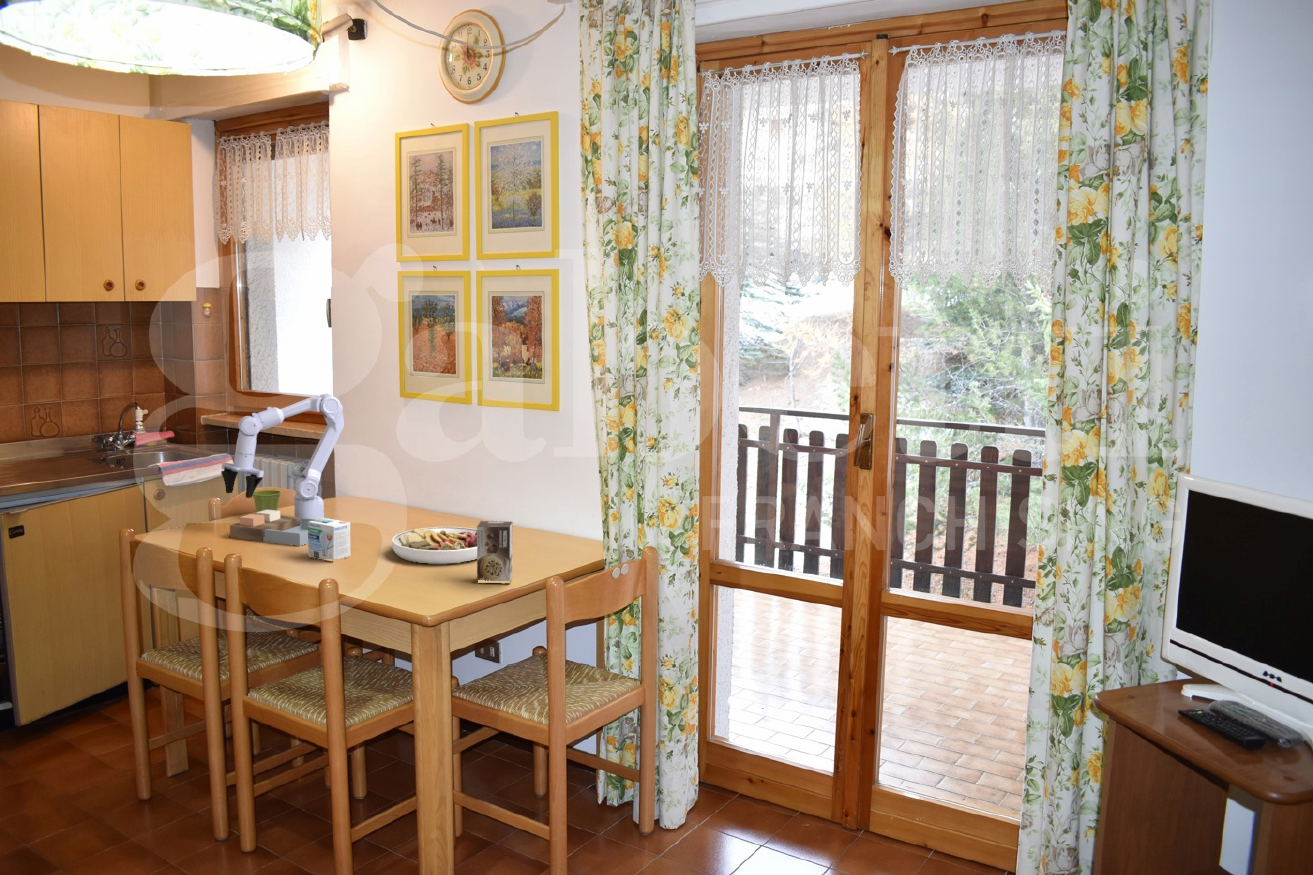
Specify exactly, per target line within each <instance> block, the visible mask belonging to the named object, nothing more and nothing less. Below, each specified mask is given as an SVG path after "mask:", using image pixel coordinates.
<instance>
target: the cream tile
mask: <svg viewBox="0 0 1313 875" xmlns="http://www.w3.org/2000/svg"><path fill="white" fill-rule="evenodd" d="M255 515H264V521H268V522H271V521H274V520H277V519H280V515H281V511H280V510H277V511H276V510H264V511H260V512H256V513H255Z"/></svg>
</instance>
